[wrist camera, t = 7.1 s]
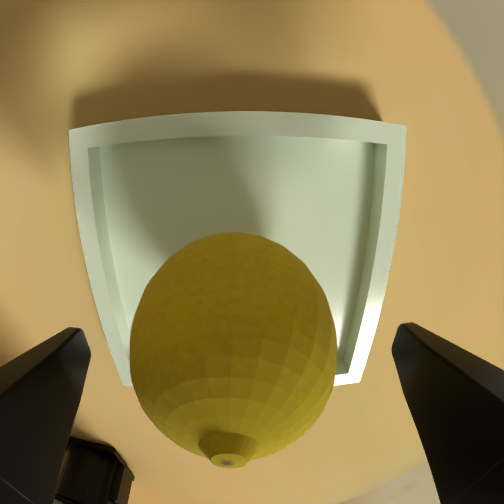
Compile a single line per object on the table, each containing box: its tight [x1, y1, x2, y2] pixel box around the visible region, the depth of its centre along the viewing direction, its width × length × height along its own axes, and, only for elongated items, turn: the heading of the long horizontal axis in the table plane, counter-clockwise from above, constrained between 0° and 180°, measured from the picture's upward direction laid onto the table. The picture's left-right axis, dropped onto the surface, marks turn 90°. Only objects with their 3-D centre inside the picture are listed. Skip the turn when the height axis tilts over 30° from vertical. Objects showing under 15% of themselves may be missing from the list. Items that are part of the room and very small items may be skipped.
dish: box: [69, 111, 407, 387], centre depth 12 cm, size 12×12×2 cm
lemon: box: [129, 232, 337, 468], centre depth 8 cm, size 6×6×8 cm
